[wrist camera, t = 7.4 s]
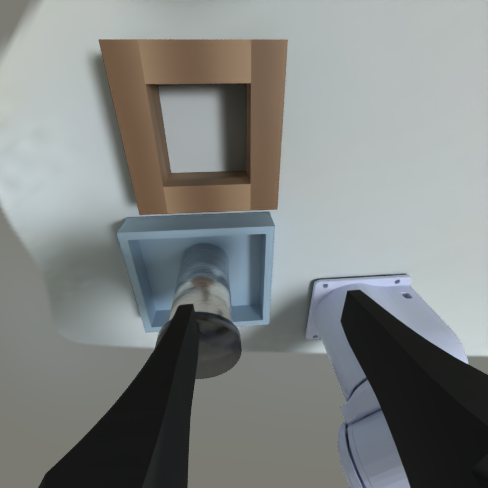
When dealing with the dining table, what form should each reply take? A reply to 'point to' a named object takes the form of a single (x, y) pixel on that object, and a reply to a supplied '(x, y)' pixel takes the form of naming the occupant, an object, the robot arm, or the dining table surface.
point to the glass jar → (208, 308)
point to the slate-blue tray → (183, 237)
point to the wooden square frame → (152, 128)
